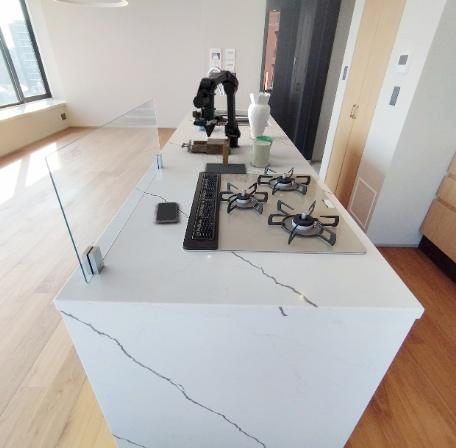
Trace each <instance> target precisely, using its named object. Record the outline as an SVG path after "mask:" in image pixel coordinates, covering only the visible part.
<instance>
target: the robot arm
mask: <svg viewBox="0 0 456 448" xmlns="http://www.w3.org/2000/svg"><path fill="white" fill-rule="evenodd" d="M239 82H240V81H239V80H238V78H237V77H236V76H235V75H234V74H233V73H232V71H231V70H228V69H227V70H225V69H222V70H220V71H219V72H217V73H216V74H214V75H212V76H206V77H202V78H201V79H200V82H199V85H198V88H197V91H196V93H195V96H194V97H193V100H192V105H193V107H194V108H195V109H198V110H199V109H200V111H198V110H193V111H192V118H194V119H193V121H192V125H193V126H194V127H195V126H196V127H198V126H200V127H204V128H205V129H204V132H205V134H206V137H207V138H210V137H212V134H213V132H214V129H215V128H216V126H217V125H218V123H217V122H216V121H219V122H224V116H223V115H222V114H215V111H217V107H215V96H216V95H217V94H216V90H217V89H218V88H219V87H218V86H219V85H222V87H223V88H222V89H223V92H224V94H225V95H226V117H227V121H226V123H225V124H224V137H227V138H226V139H230V149H235V148H240V145H239V139H240V138H241V136H242V132H241V130H240V128H239V123H238V121H237V120H236V119H237V118H236V94H237V92H238V90H239V86H240V85H239V84H240V83H239Z"/></svg>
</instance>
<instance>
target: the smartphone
mask: <svg viewBox="0 0 456 448" xmlns="http://www.w3.org/2000/svg"><path fill="white" fill-rule="evenodd" d="M177 221H178V203H177V201H176V202H175V201H171V202H169V201H167V202H158V204H157V209H156V216H155V222H156V223H157V224H158V223H160V224H161V223H176V222H177Z"/></svg>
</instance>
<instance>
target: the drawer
mask: <svg viewBox="0 0 456 448" xmlns="http://www.w3.org/2000/svg"><path fill="white" fill-rule="evenodd" d="M192 143H193V144H192ZM183 148H187V153H190V152H201V153H202V152H205V153H207V140H197V139H196V140H193V141H192V139H189V140H188V143H185V142H182V144H181V149H183Z"/></svg>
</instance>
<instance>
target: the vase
mask: <svg viewBox="0 0 456 448" xmlns="http://www.w3.org/2000/svg"><path fill="white" fill-rule="evenodd" d="M249 97H250V100H251V103H250V105H249V106H248V111H247V115H248V116H247V117H248V122H249V128H250V132H251V133H250V134H251V135H250V139H251V140H253V141H256V137H258V136H263V135H264V132H265V130H266V127H267V124H268V121H269V120H270V115H271V107H270V105H269V100H270V97H271V93H269V92H266V93H264V92H261V91H260V92H256V91H254V92H251V93H250V94H249Z"/></svg>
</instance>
